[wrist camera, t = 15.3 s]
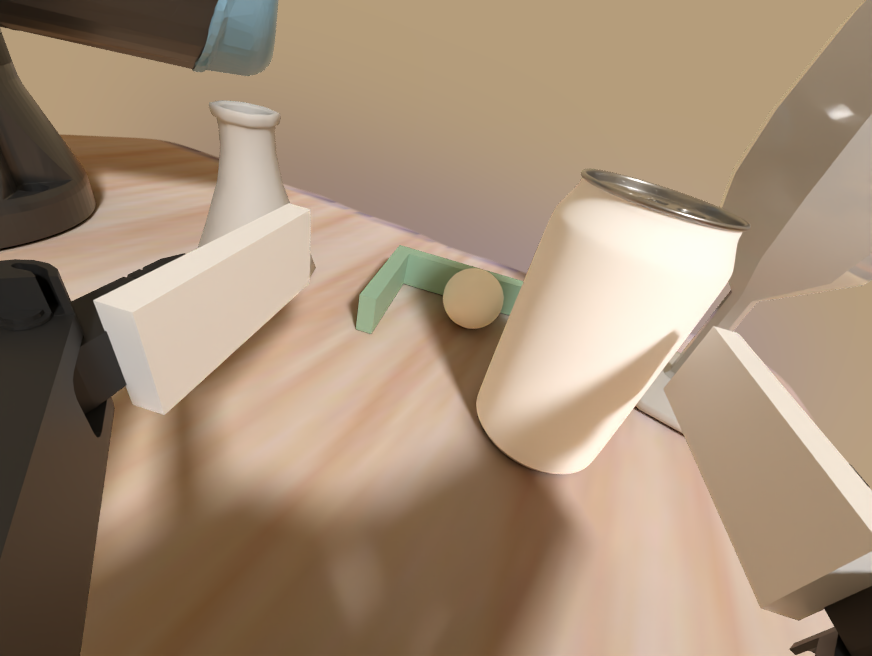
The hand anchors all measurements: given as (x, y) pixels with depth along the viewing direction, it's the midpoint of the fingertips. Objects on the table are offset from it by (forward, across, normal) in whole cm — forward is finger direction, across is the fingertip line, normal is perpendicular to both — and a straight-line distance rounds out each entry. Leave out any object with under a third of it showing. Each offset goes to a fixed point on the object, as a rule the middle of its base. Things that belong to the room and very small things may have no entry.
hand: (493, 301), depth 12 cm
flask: (+9, -15, -8) cm, 20 cm away
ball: (+11, 0, -6) cm, 12 cm away
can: (+3, +4, -8) cm, 10 cm away
